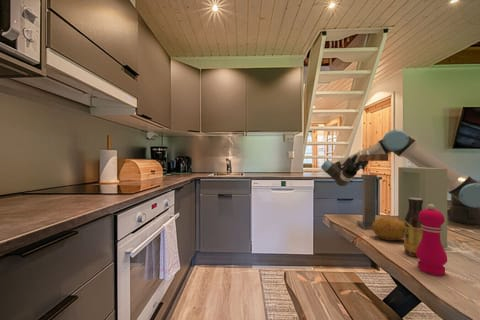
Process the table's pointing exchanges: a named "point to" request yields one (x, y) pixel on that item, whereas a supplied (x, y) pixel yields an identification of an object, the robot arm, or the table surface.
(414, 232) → the sauce bottle
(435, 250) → the pepper mill
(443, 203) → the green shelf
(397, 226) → the potato
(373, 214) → the ridge pillar
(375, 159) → the walnut bar
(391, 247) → the table surface
